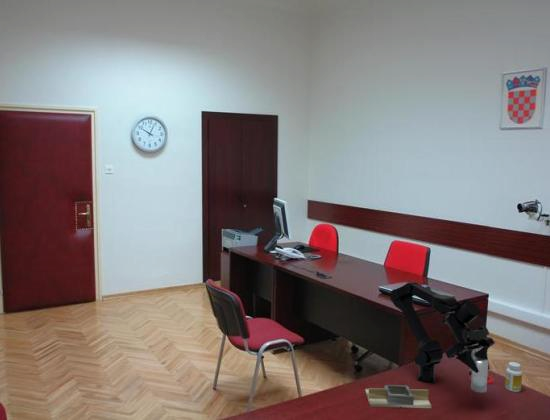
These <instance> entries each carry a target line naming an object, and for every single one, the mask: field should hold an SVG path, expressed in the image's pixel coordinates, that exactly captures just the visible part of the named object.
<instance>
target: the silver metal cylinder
mask: <svg viewBox="0 0 550 420" xmlns="http://www.w3.org/2000/svg"><path fill="white" fill-rule="evenodd" d="M473 360H474V362H475V364H476V366H477V368H478V371H479V372H477V373H476V372H474V371H473V370H472V377H471V381H470V389H471V390H472V391H474V392H476V393H486V392H487V385H488V384H487V381H488V378H487V375H489V374H488V373H489V370H488V362H489V359H488V360H487V359H485V358H482V357H476V356H475V357H474V358H473Z"/></svg>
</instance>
